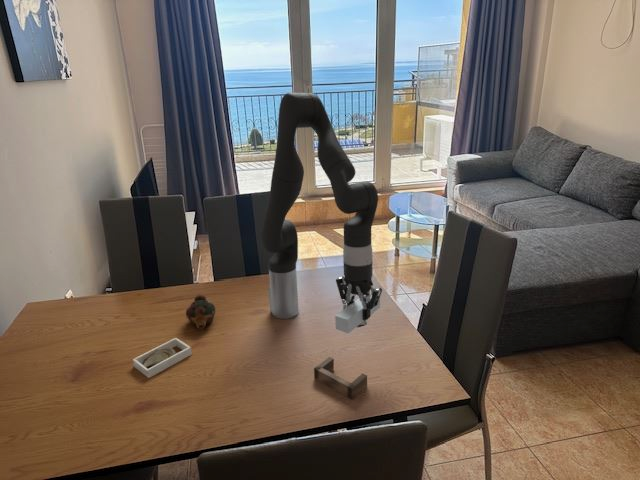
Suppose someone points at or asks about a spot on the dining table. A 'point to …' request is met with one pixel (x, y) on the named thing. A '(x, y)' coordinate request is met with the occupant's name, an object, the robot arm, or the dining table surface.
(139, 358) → the shell dish
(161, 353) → the oyster shell
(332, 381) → the end cap
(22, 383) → the dining table surface
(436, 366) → the dining table surface
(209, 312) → the decorative turtle
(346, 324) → the white rectangular bar
